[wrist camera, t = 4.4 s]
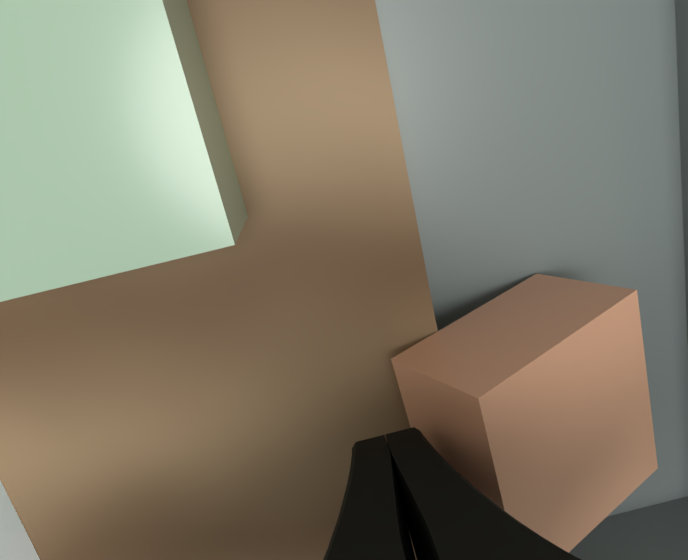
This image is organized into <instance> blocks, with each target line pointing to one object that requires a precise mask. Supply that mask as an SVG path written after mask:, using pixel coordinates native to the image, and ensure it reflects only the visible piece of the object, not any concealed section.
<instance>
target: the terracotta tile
mask: <svg viewBox="0 0 688 560" xmlns="http://www.w3.org/2000/svg"><path fill="white" fill-rule="evenodd" d="M391 361H392V365H393V368H394V371H395V375H396V378H397V382H398V385H399V389H400V392H401V396H402V399H403V403H404V406H405V410H406V413H407V417H408V420H409V424H410V427H411V428H412V427H415V428H416V429H418V430H420V431H421V433H422V434H423V436H424V437H425V438H426V439H427V441H428V442H429V443H430V444H431V445H432V446H433V447H434V448H435V450H436V451H437V452H438V453H439V454H440V455H441V456H442V457H443V458H444V459H445V460H446V461H447V462H448V463H449V464H450V465H451V466H452V467H453V468H454V469H455V470H456V471H457V472H459V473H460V474H461V475H462V476H463V477H464V478H465V479H466V480H467V481H468V482H470V483H471V484H472V485H473V486H474V487H475V488H476V489H478V490H479V491H480V492H481V493H482V494H484V495H485V496H486V497H487V498H489V499H490V500H491V501H492V502H494V503H495V504H496V505H497V506H499V507H500V508H501V509H503V510H504V511H505V512H507V513H508V514H509V515H511V516H512V517H514V518H515V519H516V520H518V521H519V522H521V523H522V524H523V525H525V526H527V527H528V528H530V529H531V530H533V531H534V532H536V533H537V534H539V535H540V536H542V537H543V538H545V539H547V540H548V541H550V542H552V543H553V544H555V545H556V546H558V547H560V548H561V549H563V550H565V551H566V552H568V553H569V552H570V551H571V550H572V549H573V548H574V547H575V546H576V545H577V544H578V543H579V542H580V541H581V540H583V539H584V538H585V537H586V536H587V535H588V534H589V533H590V532H591V531H592V530H593V529H594V528H595V527H596V526H597V525H598V524H599V523H601V522H602V521H603V520H604V519H605V518H606V517H607V516H608V515H609V514H610V513H611V512H612V511H613V510H614V509H615V508H616V507H617V506H618V505H620V504H621V503H622V502H623V501H624V500H625V499H626V498H627V497H628V496H629V495H630V494H631V493H632V492H633V491H634V490H635V489H636V488H637V487H639V486H640V485H641V484H642V483H643V482H644V481H645V480H646V479H647V478H648V477H649V476H650V475H651V474H652V473H653V472H654V471H655V470H656V469H658V464H657V456H656V447H655V439H654V430H653V422H652V413H651V405H650V396H649V388H648V379H647V371H646V362H645V354H644V345H643V337H642V328H641V320H640V311H639V302H638V294H637V290H636V289H629V288H623V287H617V286H611V285H605V284H598V283H592V282H586V281H580V280H574V279H567V278H561V277H555V276H549V275H543V274H535V275H533V276H532V277H530V278H528V279H526V280H525V281H523V282H521V283H520V284H518V285H516V286H514V287H513V288H511V289H509V290H508V291H506V292H504V293H503V294H501V295H499V296H497V297H496V298H494V299H492V300H491V301H489V302H487V303H485V304H484V305H482V306H480V307H479V308H477V309H475V310H473V311H472V312H470V313H468V314H467V315H465V316H463V317H462V318H460V319H458V320H456V321H455V322H453V323H451V324H450V325H448V326H446V327H444V328H443V329H441V330H439V331H438V332H436V333H434V334H432V335H431V336H429V337H427V338H426V339H424V340H422V341H421V342H419V343H417V344H415V345H414V346H412V347H410V348H409V349H407V350H405V351H403V352H402V353H400V354H398V355H397V356H395V357H393V358H391Z"/></svg>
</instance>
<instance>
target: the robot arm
mask: <svg viewBox="0 0 688 560" xmlns="http://www.w3.org/2000/svg"><path fill="white" fill-rule="evenodd" d="M385 436H386V438H385ZM386 440H387V441H386ZM409 532H410V533H409ZM410 536H411V537H410ZM411 540H412V541H411ZM412 543H413V545H412ZM413 547H414V549H413ZM414 551H415V553H414ZM415 555H416V557H415ZM416 558H417V560H581V559H580V558H578V557H576V556H574V555H572V554H570V553H568V552H566V551H565V550H563V549H561V548H560V547H558V546H556V545H555V544H553V543H552V542H550V541H548V540H547V539H545V538H543V537H542V536H540V535H539V534H537V533H536V532H534V531H533V530H531V529H530V528H528V527H527V526H525V525H523V524H522V523H521V522H519V521H518V520H516V519H515V518H514V517H512V516H511V515H509V514H508V513H507V512H505V511H504V510H503V509H501V508H500V507H499V506H497V505H496V504H495V503H494V502H492V501H491V500H490V499H489V498H487V497H486V496H485V495H484V494H482V493H481V492H480V491H479V490H478V489H476V488H475V487H474V486H473V485H472V484H471V483H470V482H468V481H467V480H466V479H465V478H464V477H463V476H462V475H461V474H460V473H459V472H457V471H456V470H455V469H454V468H453V467H452V466H451V465H450V464H449V463H448V462H447V461H446V460H445V459H444V458H443V457H442V456H441V455H440V454H439V453H438V452H437V451H436V450H435V448H434V447H433V446H432V445H431V444H430V443H429V442H428V441H427V439H426V438H425V437H424V436H423V434H422V433H421V431H420V430H418V429H416V428H415V427H412V428H408V429H404V430H401V431H397V432H393V433H389V434H385V435H381V436H377V437H373V438H369V439H365V440H361V441H358V442H356V443H355V444H354V446H353V447H352V457H351V466H350V472H349V477H348V482H347V487H346V490H345V494H344V498H343V502H342V506H341V509H340V513H339V516H338V520H337V523H336V525H335V528H334V531H333V534H332V537H331V540H330V543H329V546H328V549H327V551H326V554H325V556H324V559H323V560H416Z"/></svg>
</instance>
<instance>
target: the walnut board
mask: <svg viewBox="0 0 688 560" xmlns="http://www.w3.org/2000/svg"><path fill="white" fill-rule="evenodd" d="M187 4H188V7H189V11H190V14H191V18H192V21H193V25H194V28H195V32H196V35H197V39H198V42H199V46H200V49H201V53H202V56H203V60H204V63H205V67H206V70H207V74H208V77H209V81H210V84H211V88H212V91H213V95H214V98H215V102H216V105H217V109H218V112H219V116H220V119H221V123H222V126H223V130H224V133H225V137H226V141H227V144H228V148H229V151H230V155H231V158H232V162H233V165H234V169H235V172H236V176H237V179H238V183H239V186H240V190H241V193H242V197H243V200H244V204H245V207H246V211H247V214H248V218H247V220H246V222H245V224H244V226H243V228H242V231H241V233H240V235H239V237H238V239H237V242H236V244H235V245H233V246H228V247H224V248H220V249H216V250H212V251H208V252H204V253H200V254H196V255H191V256H187V257H183V258H179V259H175V260H171V261H167V262H163V263H158V264H154V265H150V266H146V267H142V268H138V269H134V270H130V271H126V272H121V273H117V274H113V275H109V276H105V277H101V278H97V279H93V280H88V281H84V282H80V283H76V284H72V285H68V286H64V287H60V288H56V289H51V290H47V291H43V292H39V293H35V294H31V295H27V296H23V297H18V298H14V299H10V300H6V301H2V302H0V480H1V482H2V484H3V486H4V488H5V490H6V492H7V494H8V496H9V498H10V500H11V502H12V504H13V506H14V508H15V510H16V512H17V514H18V516H19V518H20V520H21V522H22V524H23V526H24V528H25V530H26V532H27V534H28V536H29V538H30V540H31V542H32V544H33V546H34V548H35V550H36V552H37V554H38V556H39V558H40V560H323V559H324V556H325V554H326V551H327V549H328V546H329V543H330V540H331V537H332V534H333V531H334V528H335V525H336V523H337V520H338V516H339V513H340V509H341V506H342V502H343V498H344V494H345V490H346V487H347V482H348V477H349V472H350V466H351V457H352V447H353V446H354V444H355V443H356V442H358V441H361V440H365V439H369V438H373V437H377V436H381V435H385V434H389V433H393V432H397V431H401V430H404V429H408V428H411V427H410V424H409V420H408V417H407V413H406V410H405V406H404V403H403V399H402V396H401V392H400V389H399V385H398V382H397V378H396V375H395V371H394V368H393V365H392V361H391V358H393V357H395V356H397V355H398V354H400V353H402V352H403V351H405V350H407V349H409V348H410V347H412V346H414V345H415V344H417V343H419V342H421V341H422V340H424V339H426V338H427V337H429V336H431V335H432V334H434V333H436V332H438V330H437V325H436V320H435V315H434V309H433V304H432V299H431V293H430V288H429V283H428V278H427V272H426V267H425V262H424V257H423V251H422V246H421V241H420V235H419V230H418V225H417V220H416V214H415V209H414V204H413V198H412V193H411V188H410V183H409V177H408V172H407V167H406V161H405V156H404V151H403V146H402V140H401V135H400V130H399V124H398V119H397V114H396V109H395V103H394V98H393V93H392V88H391V82H390V77H389V72H388V66H387V61H386V56H385V51H384V45H383V40H382V35H381V29H380V24H379V19H378V14H377V8H376V3H375V0H187ZM385 438H386V436H385ZM386 441H387V440H386ZM409 533H410V532H409ZM410 537H411V536H410ZM411 541H412V540H411ZM412 545H413V543H412ZM413 549H414V547H413ZM414 553H415V551H414ZM415 557H416V555H415ZM416 560H417V558H416Z"/></svg>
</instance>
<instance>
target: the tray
mask: <svg viewBox="0 0 688 560" xmlns="http://www.w3.org/2000/svg"><path fill="white" fill-rule="evenodd" d="M375 3H376V8H377V14H378V19H379V24H380V29H381V35H382V40H383V45H384V51H385V56H386V61H387V66H388V72H389V77H390V82H391V88H392V93H393V98H394V103H395V109H396V114H397V119H398V124H399V130H400V135H401V140H402V146H403V151H404V156H405V161H406V167H407V172H408V177H409V183H410V188H411V193H412V198H413V204H414V209H415V214H416V220H417V225H418V230H419V235H420V241H421V246H422V251H423V257H424V262H425V267H426V272H427V278H428V283H429V288H430V293H431V299H432V304H433V309H434V315H435V320H436V325H437V330H438V331H439V330H441V329H443V328H444V327H446V326H448V325H450V324H451V323H453V322H455V321H456V320H458V319H460V318H462V317H463V316H465V315H467V314H468V313H470V312H472V311H473V310H475V309H477V308H479V307H480V306H482V305H484V304H485V303H487V302H489V301H491V300H492V299H494V298H496V297H497V296H499V295H501V294H503V293H504V292H506V291H508V290H509V289H511V288H513V287H514V286H516V285H518V284H520V283H521V282H523V281H525V280H526V279H528V278H530V277H532V276H533V275H535V274H543V275H549V276H555V277H561V278H567V279H574V280H580V281H586V282H592V283H598V284H605V285H611V286H617V287H623V288H629V289H636V290H637V294H638V302H639V311H640V320H641V328H642V337H643V345H644V354H645V362H646V371H647V379H648V388H649V396H650V405H651V413H652V422H653V430H654V439H655V447H656V456H657V464H658V469H656V470H655V471H654V472H653V473H652V474H651V475H650V476H649V477H648V478H647V479H646V480H645V481H644V482H643V483H642V484H641V485H640V486H639V487H637V488H636V489H635V490H634V491H633V492H632V493H631V494H630V495H629V496H628V497H627V498H626V499H625V500H624V501H623V502H622V503H621V504H620V505H618V506H617V507H616V508H615V509H614V510H613V511H612V512H611V513H610V514H609V515H608V516H607V517H606V518H605V519H604V520H603V521H602V522H601V523H599V524H598V525H597V526H596V527H595V528H594V529H593V530H592V531H591V532H590V533H589V534H588V535H587V536H586V537H585V538H584V539H583V540H581V541H580V542H579V543H578V544H577V545H576V546H575V547H574V548H573V549H572V550H571V551H570V552H569V553H570V554H572V555H574V556H576V557H578V558H580V559H581V560H688V0H375Z"/></svg>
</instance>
